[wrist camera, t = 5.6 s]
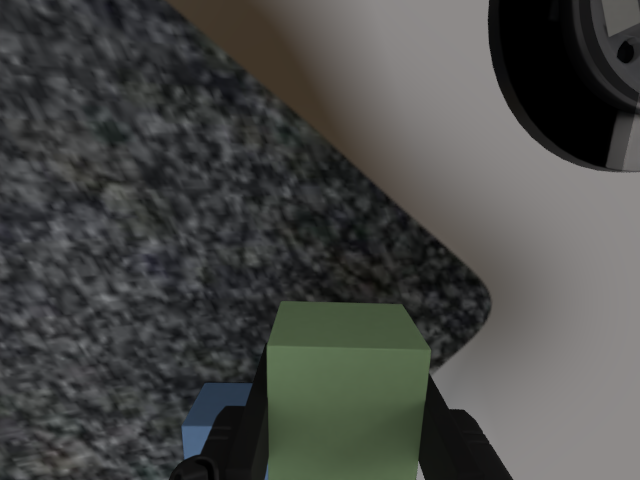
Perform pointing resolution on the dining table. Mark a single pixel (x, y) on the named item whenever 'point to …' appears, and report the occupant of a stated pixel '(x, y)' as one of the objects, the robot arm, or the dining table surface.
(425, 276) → the dining table surface
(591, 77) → the robot arm
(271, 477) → the green block
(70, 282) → the dining table surface
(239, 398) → the blue block
